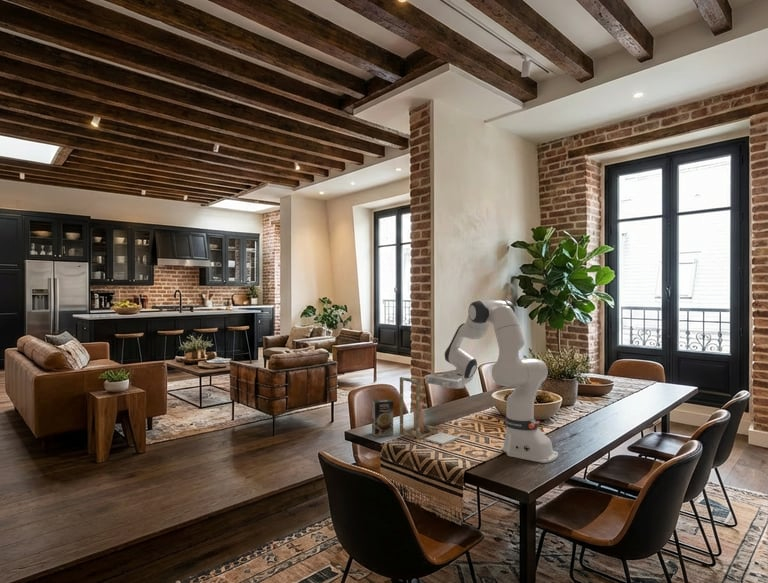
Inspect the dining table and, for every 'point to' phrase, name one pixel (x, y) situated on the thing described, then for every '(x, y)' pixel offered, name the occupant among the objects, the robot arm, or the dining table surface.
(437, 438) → the coaster
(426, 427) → the rack
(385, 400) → the coffee box
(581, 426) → the dining table surface
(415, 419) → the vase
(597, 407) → the dining table surface
